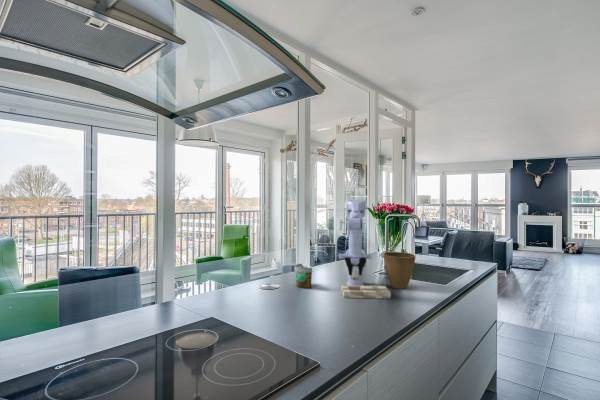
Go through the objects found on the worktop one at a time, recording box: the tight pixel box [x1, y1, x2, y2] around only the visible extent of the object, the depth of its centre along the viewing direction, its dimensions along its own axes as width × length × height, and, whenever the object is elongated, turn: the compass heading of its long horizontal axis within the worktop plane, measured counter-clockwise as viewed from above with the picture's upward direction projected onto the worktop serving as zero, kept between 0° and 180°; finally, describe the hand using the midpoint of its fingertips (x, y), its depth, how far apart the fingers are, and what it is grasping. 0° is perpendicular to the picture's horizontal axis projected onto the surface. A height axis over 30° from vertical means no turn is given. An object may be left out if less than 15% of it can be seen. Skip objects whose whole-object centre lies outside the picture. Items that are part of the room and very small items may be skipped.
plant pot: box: [383, 251, 416, 290], centre depth 154 cm, size 15×15×16 cm
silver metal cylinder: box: [351, 262, 360, 280], centre depth 142 cm, size 4×4×7 cm
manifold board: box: [341, 284, 392, 299], centre depth 142 cm, size 11×20×2 cm, turn 89°
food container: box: [293, 263, 313, 290], centre depth 154 cm, size 12×6×10 cm, turn 25°
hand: (355, 274), depth 142 cm, fingers closed on silver metal cylinder, 4 cm apart
